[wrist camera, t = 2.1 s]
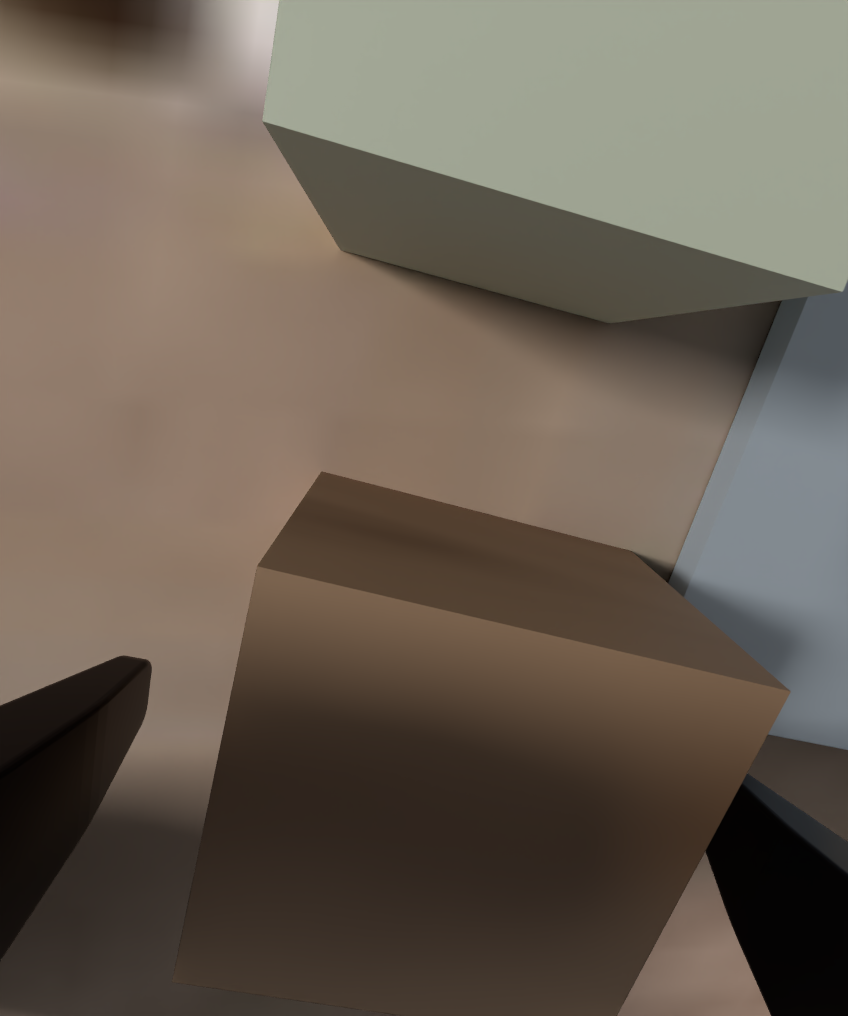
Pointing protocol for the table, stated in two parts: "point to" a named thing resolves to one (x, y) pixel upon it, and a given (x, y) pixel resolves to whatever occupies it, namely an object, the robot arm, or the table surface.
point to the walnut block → (461, 765)
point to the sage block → (576, 144)
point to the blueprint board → (785, 521)
